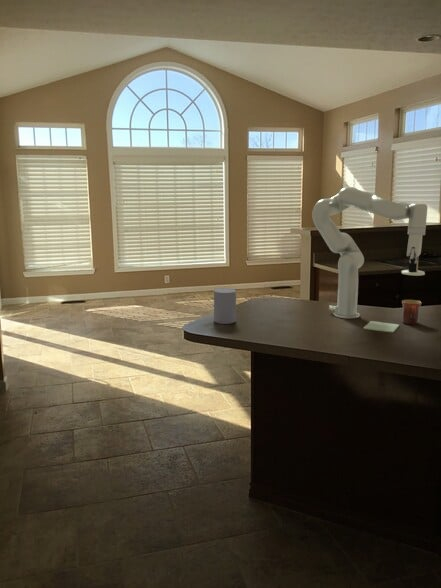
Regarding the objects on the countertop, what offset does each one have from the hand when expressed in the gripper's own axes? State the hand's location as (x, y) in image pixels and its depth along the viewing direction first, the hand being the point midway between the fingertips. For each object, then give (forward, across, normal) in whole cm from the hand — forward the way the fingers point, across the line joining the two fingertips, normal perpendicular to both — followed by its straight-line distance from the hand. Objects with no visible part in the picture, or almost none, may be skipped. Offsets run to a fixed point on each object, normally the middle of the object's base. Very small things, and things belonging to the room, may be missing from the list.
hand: (413, 270), depth 240 cm
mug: (+25, 0, +1) cm, 25 cm away
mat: (+25, +13, -10) cm, 30 cm away
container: (+26, +39, -77) cm, 90 cm away
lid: (+1, 0, 0) cm, 1 cm away
